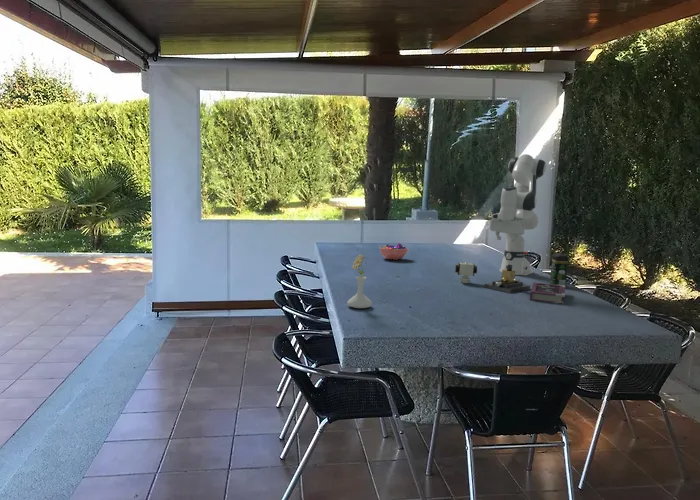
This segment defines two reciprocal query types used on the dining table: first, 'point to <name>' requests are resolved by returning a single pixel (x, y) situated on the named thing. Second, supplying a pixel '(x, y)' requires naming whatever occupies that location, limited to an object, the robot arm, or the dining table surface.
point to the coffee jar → (559, 269)
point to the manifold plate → (507, 286)
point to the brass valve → (508, 275)
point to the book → (547, 292)
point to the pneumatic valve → (465, 271)
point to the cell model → (393, 251)
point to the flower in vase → (359, 287)
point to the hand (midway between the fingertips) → (506, 240)
